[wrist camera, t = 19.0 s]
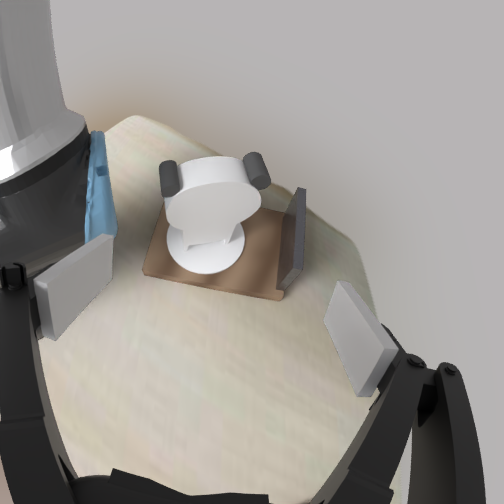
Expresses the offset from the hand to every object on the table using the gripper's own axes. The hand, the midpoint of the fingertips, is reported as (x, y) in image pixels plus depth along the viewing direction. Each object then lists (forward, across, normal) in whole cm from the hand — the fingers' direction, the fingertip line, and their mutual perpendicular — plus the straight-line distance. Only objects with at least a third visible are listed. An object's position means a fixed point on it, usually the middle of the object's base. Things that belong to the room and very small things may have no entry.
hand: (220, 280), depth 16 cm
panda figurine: (+26, -3, -6) cm, 26 cm away
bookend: (+26, +8, -5) cm, 27 cm away
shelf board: (+27, -1, -7) cm, 28 cm away
